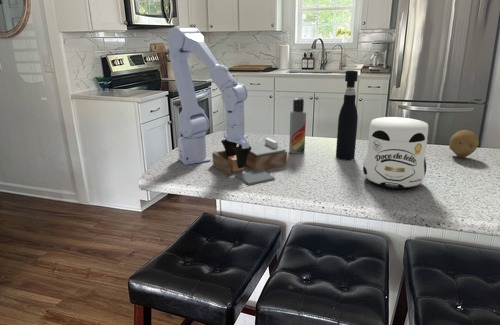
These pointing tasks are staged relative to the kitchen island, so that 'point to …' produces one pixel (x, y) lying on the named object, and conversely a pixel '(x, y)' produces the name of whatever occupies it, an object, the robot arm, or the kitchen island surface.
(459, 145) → the potato
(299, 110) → the lotion bottle
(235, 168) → the block
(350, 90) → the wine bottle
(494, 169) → the kitchen island surface
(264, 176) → the mat
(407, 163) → the doce de leite jar
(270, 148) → the slide cover
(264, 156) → the wooden box
